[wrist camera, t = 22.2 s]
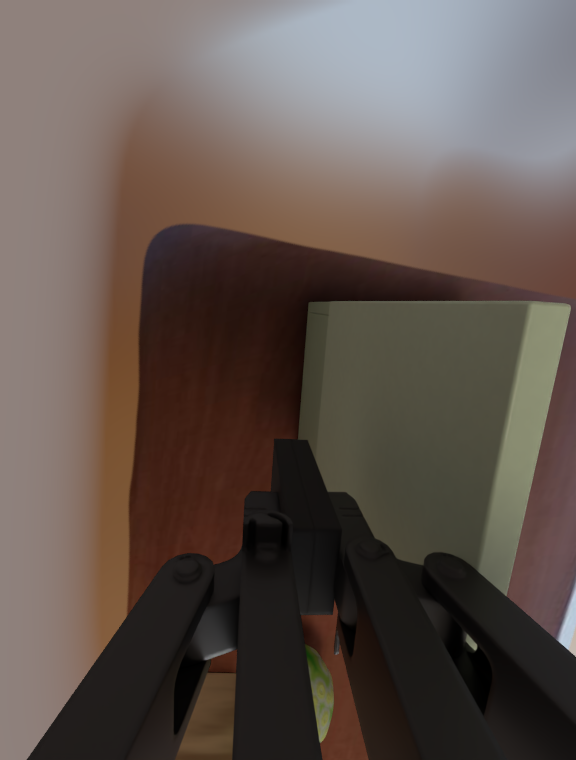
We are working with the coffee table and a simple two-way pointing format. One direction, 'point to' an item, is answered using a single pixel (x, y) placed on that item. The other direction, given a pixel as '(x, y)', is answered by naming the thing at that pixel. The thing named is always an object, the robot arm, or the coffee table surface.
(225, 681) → the stand
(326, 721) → the decorative ball
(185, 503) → the coffee table surface
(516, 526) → the lid
